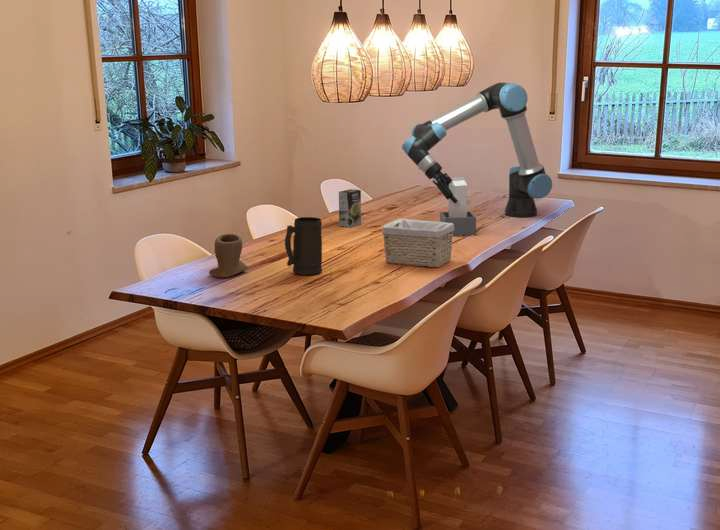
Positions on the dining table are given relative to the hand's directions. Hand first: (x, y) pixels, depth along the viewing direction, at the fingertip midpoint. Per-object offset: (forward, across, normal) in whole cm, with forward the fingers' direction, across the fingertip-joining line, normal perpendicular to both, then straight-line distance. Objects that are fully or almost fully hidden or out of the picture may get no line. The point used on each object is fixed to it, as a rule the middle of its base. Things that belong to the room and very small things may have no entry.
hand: (465, 205), depth 368 cm
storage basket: (+7, +52, -10) cm, 54 cm away
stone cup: (-34, +93, -51) cm, 112 cm away
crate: (+6, 0, -11) cm, 13 cm away
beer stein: (-16, +83, -34) cm, 91 cm away
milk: (+5, 0, -9) cm, 10 cm away
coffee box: (-30, +1, -47) cm, 56 cm away
